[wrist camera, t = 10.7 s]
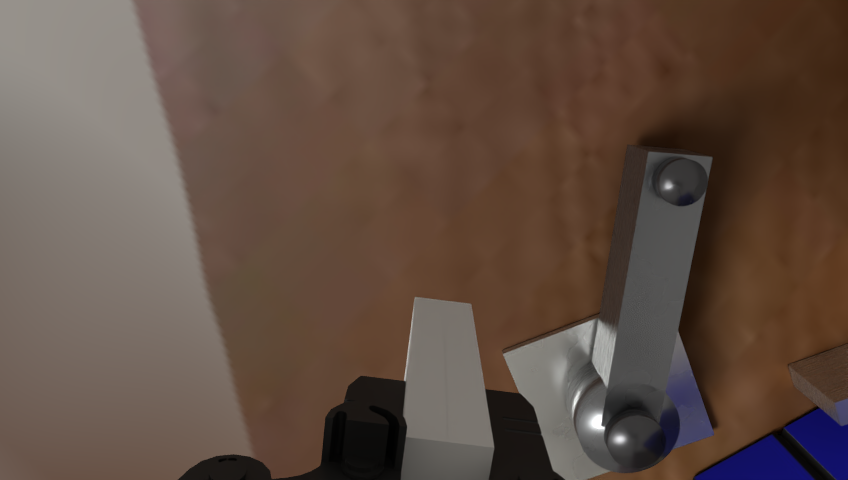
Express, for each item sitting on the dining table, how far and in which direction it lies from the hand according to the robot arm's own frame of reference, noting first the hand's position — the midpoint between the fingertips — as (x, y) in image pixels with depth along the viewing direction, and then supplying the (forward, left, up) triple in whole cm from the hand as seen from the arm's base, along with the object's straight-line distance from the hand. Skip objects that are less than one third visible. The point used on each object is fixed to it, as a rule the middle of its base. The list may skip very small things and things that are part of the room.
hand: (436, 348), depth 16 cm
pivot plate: (-11, -5, -12) cm, 17 cm away
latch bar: (-6, -7, -12) cm, 15 cm away
